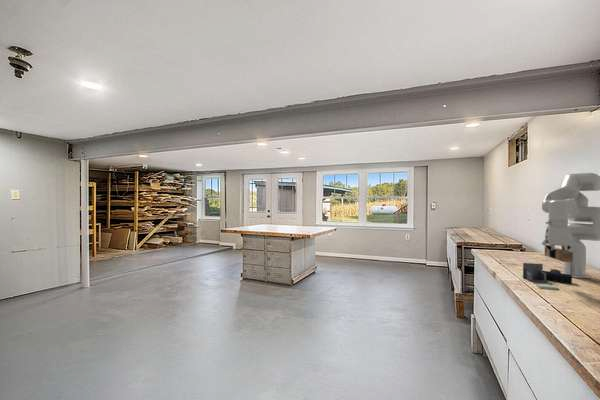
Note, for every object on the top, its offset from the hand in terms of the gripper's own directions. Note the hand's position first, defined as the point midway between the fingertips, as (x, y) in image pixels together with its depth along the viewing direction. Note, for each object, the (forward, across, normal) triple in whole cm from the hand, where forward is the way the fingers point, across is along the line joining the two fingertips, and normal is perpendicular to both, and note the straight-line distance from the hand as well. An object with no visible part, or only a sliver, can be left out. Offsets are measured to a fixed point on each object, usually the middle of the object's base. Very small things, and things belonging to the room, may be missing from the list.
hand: (557, 257), depth 150 cm
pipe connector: (+16, +6, +15) cm, 22 cm away
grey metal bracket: (+15, -6, +9) cm, 19 cm away
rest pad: (+15, -7, -5) cm, 17 cm away
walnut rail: (+1, 0, 0) cm, 1 cm away
